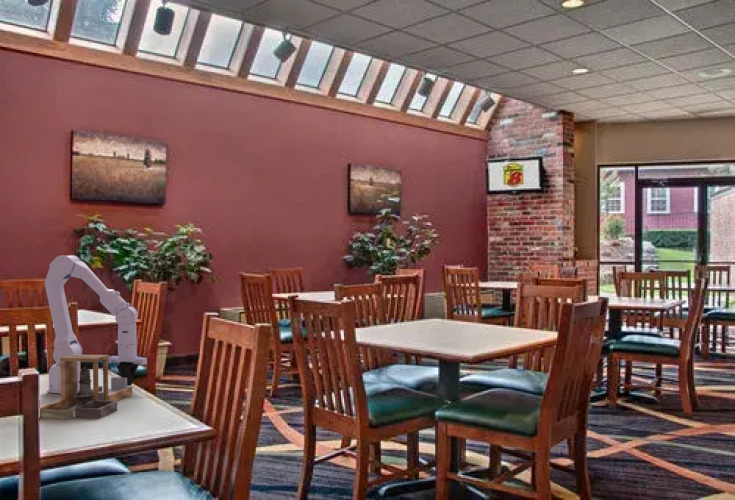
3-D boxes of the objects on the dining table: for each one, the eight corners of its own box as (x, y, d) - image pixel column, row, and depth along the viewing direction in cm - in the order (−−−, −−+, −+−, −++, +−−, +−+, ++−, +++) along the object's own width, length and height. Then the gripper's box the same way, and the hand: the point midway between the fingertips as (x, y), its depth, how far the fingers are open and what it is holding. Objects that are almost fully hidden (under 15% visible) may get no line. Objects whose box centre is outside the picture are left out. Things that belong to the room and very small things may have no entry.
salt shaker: (100, 404, 195) (99, 363, 195) (89, 409, 189) (89, 367, 189) (81, 404, 195) (80, 363, 195) (70, 408, 189) (69, 367, 189)
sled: (111, 391, 211) (111, 377, 211) (128, 392, 210) (128, 377, 210) (84, 402, 196) (84, 386, 196) (102, 402, 195) (102, 387, 195)
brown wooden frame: (98, 393, 209) (98, 347, 209) (151, 395, 206) (150, 348, 206) (35, 417, 179) (34, 364, 179) (95, 420, 176) (94, 365, 176)
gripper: (101, 344, 214) (101, 386, 214) (135, 346, 209) (136, 389, 209) (117, 341, 221) (117, 382, 221) (151, 343, 215) (151, 385, 215)
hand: (128, 385), depth 215 cm, fingers closed
